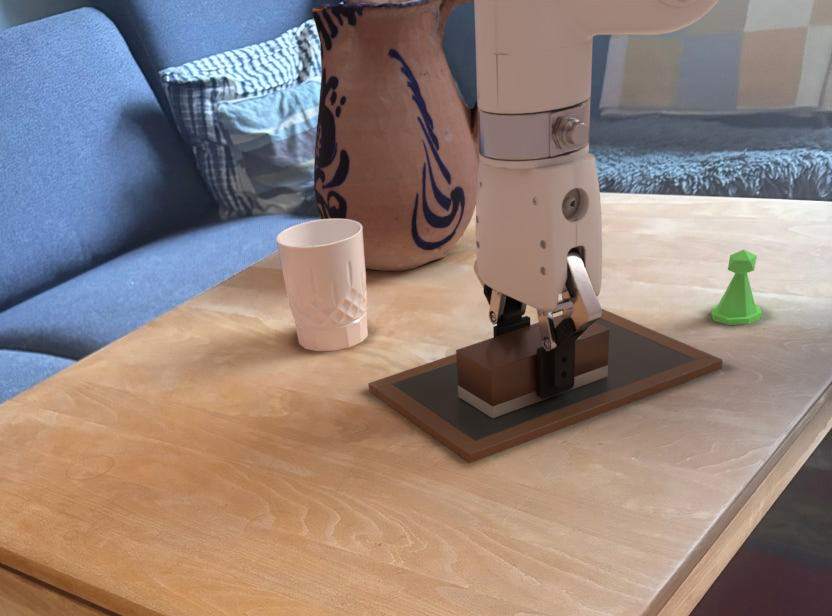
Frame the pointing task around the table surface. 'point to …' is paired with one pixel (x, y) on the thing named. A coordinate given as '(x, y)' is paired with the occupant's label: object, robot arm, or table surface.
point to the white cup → (325, 282)
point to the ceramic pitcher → (393, 130)
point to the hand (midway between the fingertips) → (533, 378)
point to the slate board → (483, 436)
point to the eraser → (522, 367)
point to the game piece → (738, 293)
